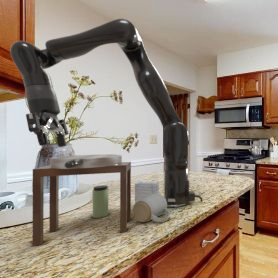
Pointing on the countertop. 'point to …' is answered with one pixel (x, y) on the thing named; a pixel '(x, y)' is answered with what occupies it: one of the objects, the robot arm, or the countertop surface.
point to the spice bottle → (100, 201)
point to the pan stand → (77, 167)
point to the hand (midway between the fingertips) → (54, 145)
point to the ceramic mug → (151, 208)
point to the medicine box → (145, 190)
